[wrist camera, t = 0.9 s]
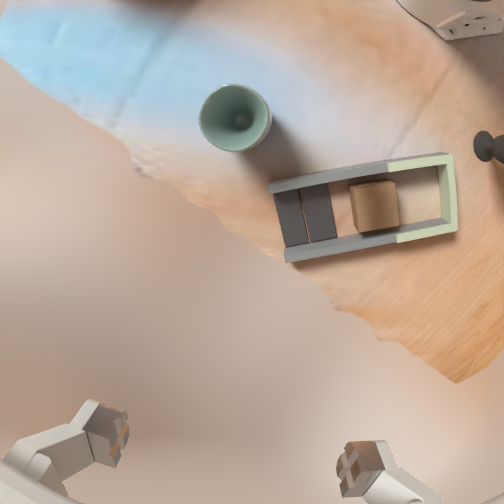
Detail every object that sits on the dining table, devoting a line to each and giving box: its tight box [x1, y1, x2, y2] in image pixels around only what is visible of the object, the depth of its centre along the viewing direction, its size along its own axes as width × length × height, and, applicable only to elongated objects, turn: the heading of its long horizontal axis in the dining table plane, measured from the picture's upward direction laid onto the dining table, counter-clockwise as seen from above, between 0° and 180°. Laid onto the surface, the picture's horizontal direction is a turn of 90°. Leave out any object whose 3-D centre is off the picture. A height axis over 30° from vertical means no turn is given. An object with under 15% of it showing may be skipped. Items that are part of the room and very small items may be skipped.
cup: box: [199, 84, 272, 152], centre depth 35 cm, size 8×8×10 cm
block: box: [348, 179, 399, 233], centre depth 40 cm, size 6×6×4 cm
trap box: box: [267, 153, 458, 263], centre depth 40 cm, size 27×11×4 cm, turn 104°
